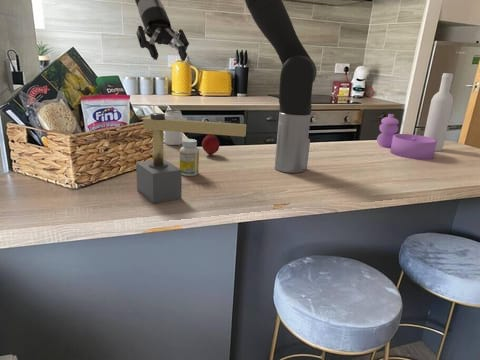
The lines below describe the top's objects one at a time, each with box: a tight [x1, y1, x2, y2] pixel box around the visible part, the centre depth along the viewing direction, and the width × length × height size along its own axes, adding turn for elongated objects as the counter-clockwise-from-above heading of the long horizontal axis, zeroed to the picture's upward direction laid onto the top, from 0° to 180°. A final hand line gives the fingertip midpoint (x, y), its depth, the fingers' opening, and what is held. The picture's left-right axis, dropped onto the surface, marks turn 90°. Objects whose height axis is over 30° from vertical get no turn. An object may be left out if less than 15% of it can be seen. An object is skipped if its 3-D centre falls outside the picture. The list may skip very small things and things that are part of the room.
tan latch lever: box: [142, 112, 247, 167], centre depth 87 cm, size 23×3×12 cm, turn 84°
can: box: [163, 109, 183, 146], centre depth 139 cm, size 6×6×12 cm
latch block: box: [135, 159, 183, 204], centre depth 90 cm, size 7×10×7 cm
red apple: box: [201, 134, 221, 156], centre depth 127 cm, size 6×6×8 cm
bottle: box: [423, 72, 454, 152], centre depth 152 cm, size 8×8×30 cm
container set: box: [376, 113, 437, 161], centre depth 148 cm, size 25×15×13 cm, turn 23°
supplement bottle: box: [179, 138, 200, 177], centre depth 106 cm, size 5×5×10 cm
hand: (170, 58), depth 107 cm, fingers open, 8 cm apart
